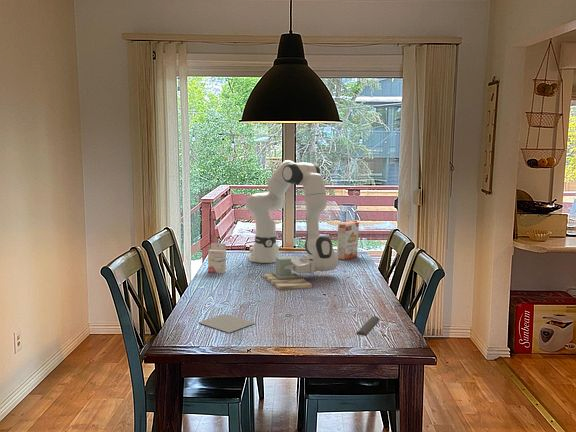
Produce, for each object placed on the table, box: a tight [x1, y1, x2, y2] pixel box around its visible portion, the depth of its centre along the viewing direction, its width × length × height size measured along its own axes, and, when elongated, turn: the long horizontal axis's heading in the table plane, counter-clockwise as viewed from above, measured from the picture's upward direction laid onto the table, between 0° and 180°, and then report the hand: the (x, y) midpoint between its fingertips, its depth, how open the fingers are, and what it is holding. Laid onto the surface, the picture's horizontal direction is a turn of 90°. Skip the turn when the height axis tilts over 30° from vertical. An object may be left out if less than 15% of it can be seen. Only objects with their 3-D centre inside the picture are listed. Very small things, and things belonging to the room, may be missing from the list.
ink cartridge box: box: [207, 242, 227, 274], centre depth 291 cm, size 9×5×15 cm, turn 84°
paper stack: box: [198, 313, 255, 334], centre depth 214 cm, size 23×25×1 cm
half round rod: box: [355, 315, 381, 336], centre depth 212 cm, size 4×20×2 cm, turn 156°
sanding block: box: [271, 255, 295, 280], centre depth 278 cm, size 12×8×9 cm, turn 20°
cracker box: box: [336, 220, 360, 261], centre depth 329 cm, size 14×6×21 cm, turn 141°
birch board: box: [262, 270, 313, 291], centre depth 274 cm, size 26×16×2 cm, turn 20°
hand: (281, 265), depth 277 cm, fingers closed on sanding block, 6 cm apart
